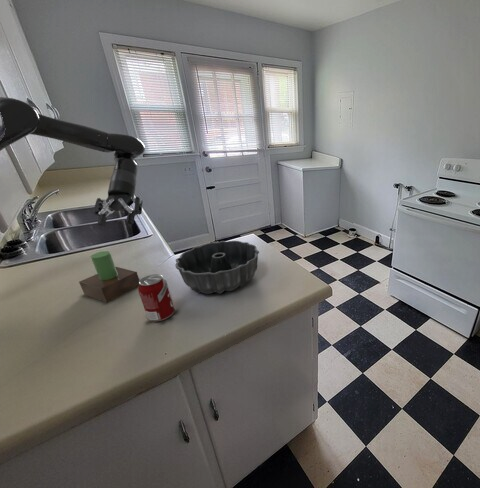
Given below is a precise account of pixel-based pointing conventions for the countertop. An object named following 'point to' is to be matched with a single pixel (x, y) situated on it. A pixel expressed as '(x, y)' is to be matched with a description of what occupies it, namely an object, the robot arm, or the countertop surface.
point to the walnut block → (110, 285)
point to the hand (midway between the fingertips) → (115, 225)
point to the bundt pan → (218, 266)
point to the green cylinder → (104, 265)
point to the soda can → (156, 297)
